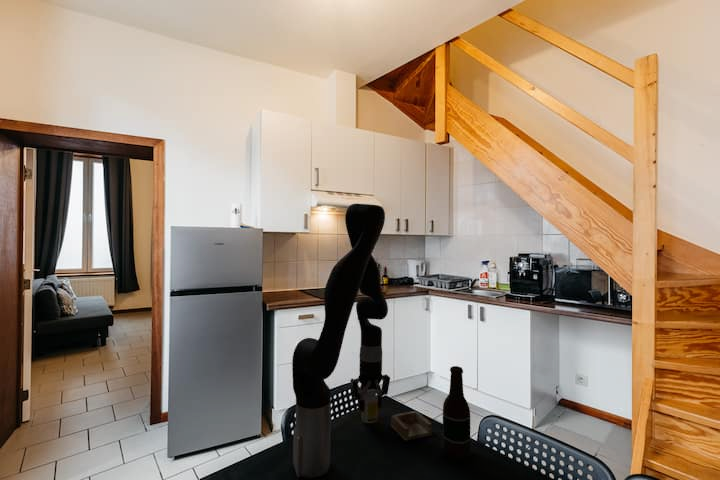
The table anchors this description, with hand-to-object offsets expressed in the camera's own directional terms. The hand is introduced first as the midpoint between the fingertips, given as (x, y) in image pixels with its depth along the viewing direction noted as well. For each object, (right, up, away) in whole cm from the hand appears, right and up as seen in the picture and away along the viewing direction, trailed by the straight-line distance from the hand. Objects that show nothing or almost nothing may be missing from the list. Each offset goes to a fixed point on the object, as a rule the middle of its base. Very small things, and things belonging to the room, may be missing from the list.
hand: (369, 408), depth 116 cm
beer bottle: (+24, -5, -16) cm, 30 cm away
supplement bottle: (0, -4, 0) cm, 4 cm away
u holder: (+13, -5, -5) cm, 15 cm away
